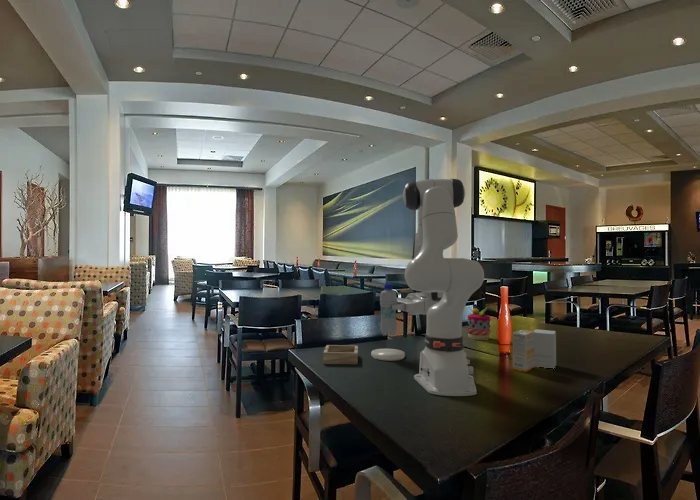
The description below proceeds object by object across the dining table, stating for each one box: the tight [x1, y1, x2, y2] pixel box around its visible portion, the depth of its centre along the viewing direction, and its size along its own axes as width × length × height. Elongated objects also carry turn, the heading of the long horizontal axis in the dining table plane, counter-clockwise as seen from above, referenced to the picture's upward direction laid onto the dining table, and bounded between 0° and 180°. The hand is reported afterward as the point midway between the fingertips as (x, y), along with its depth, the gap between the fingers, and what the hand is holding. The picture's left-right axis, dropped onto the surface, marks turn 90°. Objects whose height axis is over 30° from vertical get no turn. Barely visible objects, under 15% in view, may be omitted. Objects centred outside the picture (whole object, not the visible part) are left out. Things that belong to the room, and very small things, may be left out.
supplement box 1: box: [512, 329, 536, 373], centre depth 142 cm, size 8×5×13 cm, turn 135°
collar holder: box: [322, 344, 359, 365], centre depth 152 cm, size 12×12×4 cm
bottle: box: [379, 283, 398, 336], centre depth 158 cm, size 7×7×20 cm
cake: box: [466, 306, 491, 341], centre depth 193 cm, size 10×11×15 cm
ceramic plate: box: [370, 348, 406, 362], centre depth 157 cm, size 13×13×2 cm
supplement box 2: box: [533, 328, 557, 370], centre depth 146 cm, size 7×7×13 cm
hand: (386, 305), depth 157 cm, fingers closed on bottle, 6 cm apart
